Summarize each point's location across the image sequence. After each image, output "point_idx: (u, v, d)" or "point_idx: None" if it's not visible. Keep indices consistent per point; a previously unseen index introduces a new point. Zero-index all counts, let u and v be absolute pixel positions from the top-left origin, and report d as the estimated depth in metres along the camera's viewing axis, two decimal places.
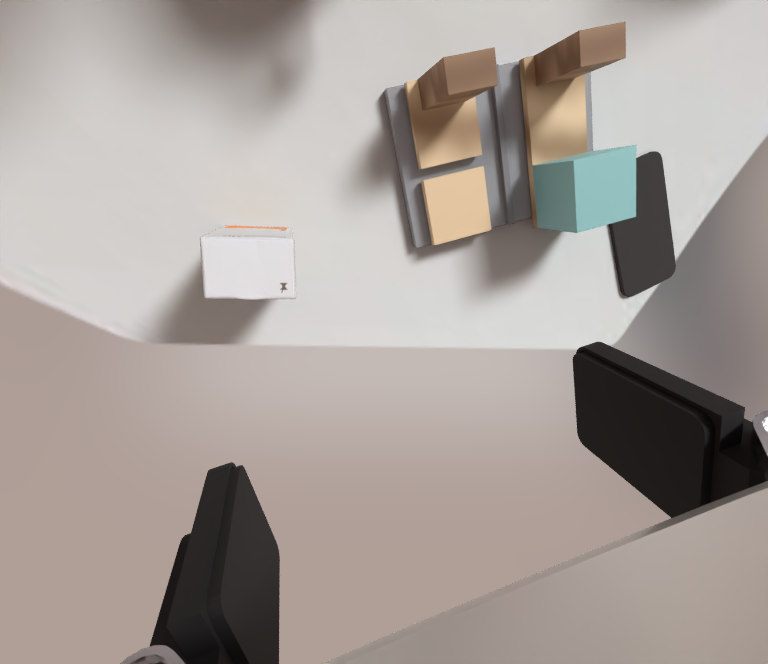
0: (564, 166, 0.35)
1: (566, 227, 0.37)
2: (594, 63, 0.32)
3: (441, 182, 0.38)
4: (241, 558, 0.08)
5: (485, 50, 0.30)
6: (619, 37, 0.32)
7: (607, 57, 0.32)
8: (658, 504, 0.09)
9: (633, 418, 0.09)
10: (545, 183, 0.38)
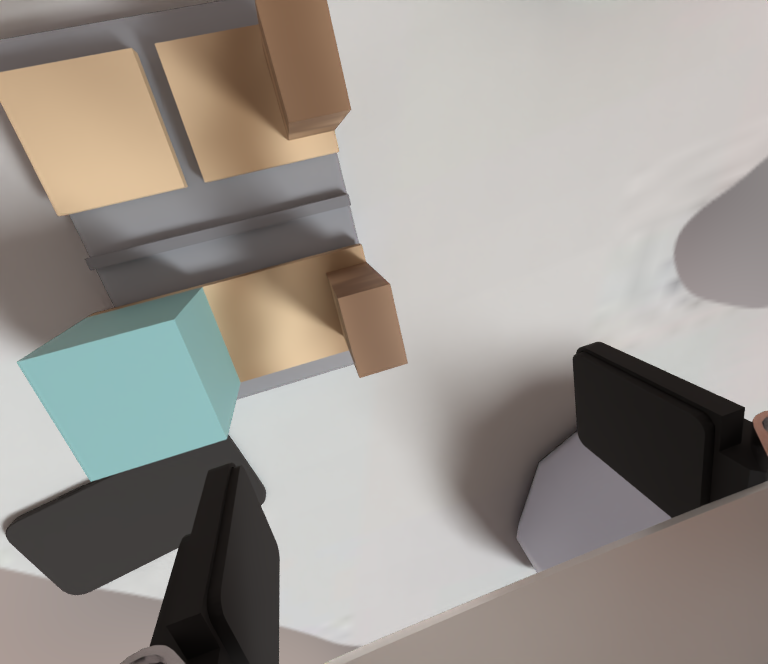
0: (171, 313, 0.18)
1: (46, 346, 0.17)
2: (345, 324, 0.18)
3: (135, 92, 0.19)
4: (241, 558, 0.08)
5: (344, 88, 0.15)
6: (385, 359, 0.19)
7: (356, 345, 0.19)
8: (658, 504, 0.09)
9: (633, 418, 0.09)
10: (160, 304, 0.20)
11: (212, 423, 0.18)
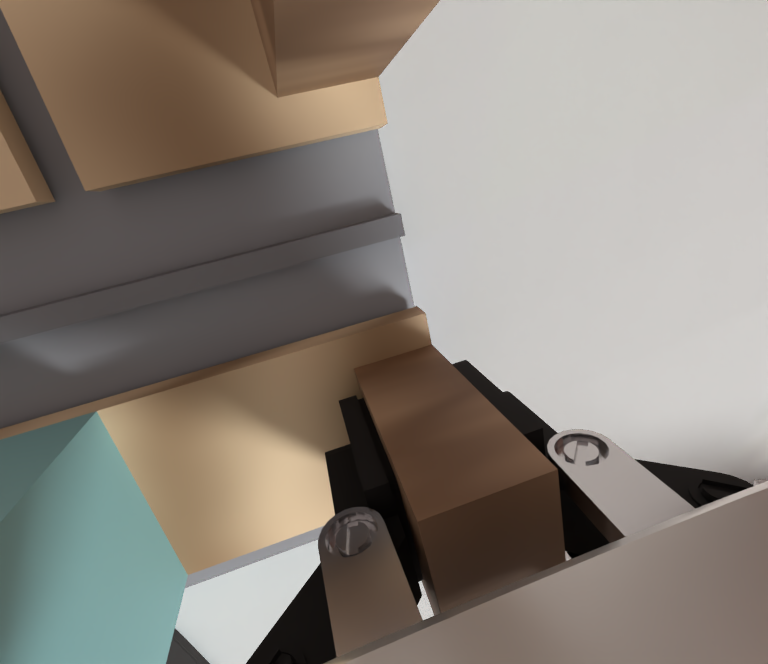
0: None
1: None
2: (434, 575, 0.07)
3: None
4: None
5: None
6: None
7: None
8: None
9: None
10: None
11: None
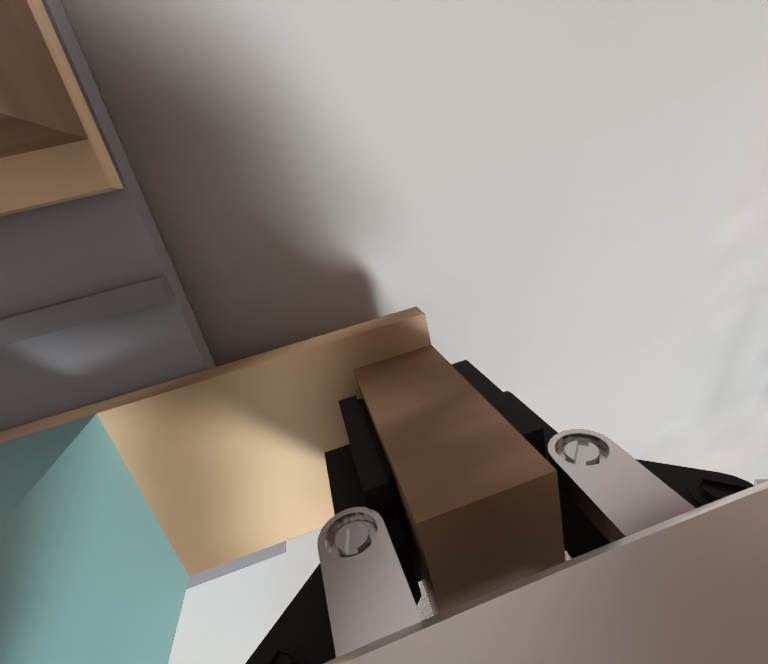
0: None
1: None
2: (433, 576, 0.07)
3: None
4: None
5: None
6: None
7: None
8: None
9: None
10: None
11: None
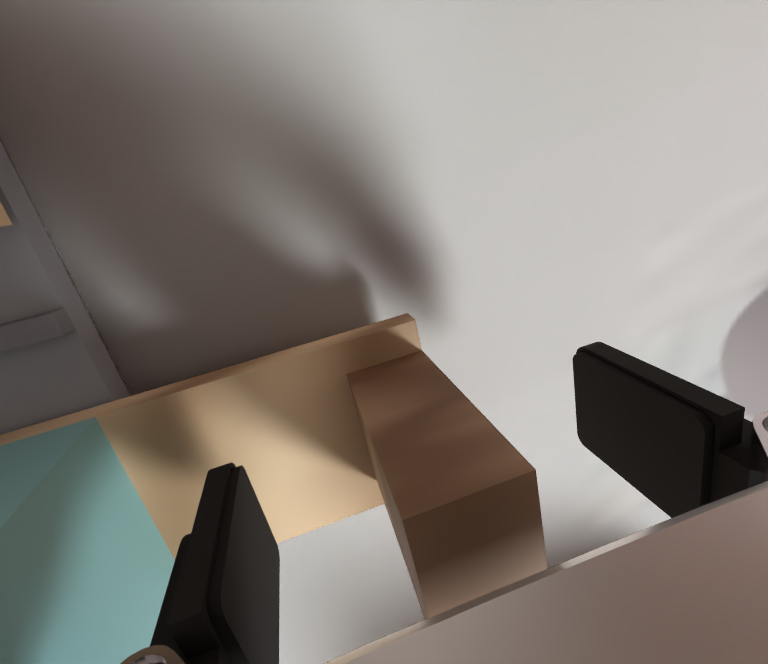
0: None
1: None
2: (419, 572, 0.07)
3: None
4: (241, 558, 0.08)
5: None
6: None
7: None
8: (658, 504, 0.09)
9: (633, 418, 0.09)
10: None
11: None
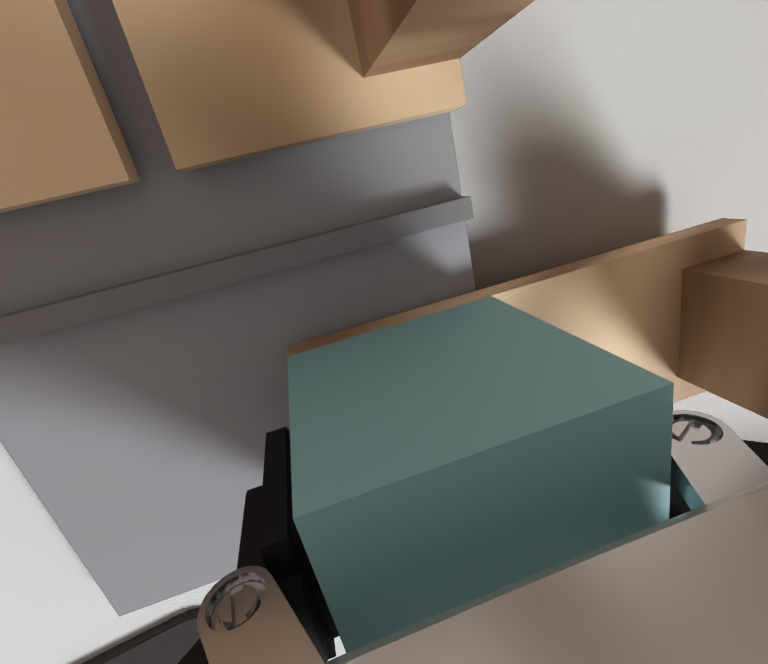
0: (591, 360, 0.07)
1: (312, 449, 0.07)
2: None
3: None
4: None
5: None
6: None
7: None
8: None
9: None
10: (464, 332, 0.10)
11: None
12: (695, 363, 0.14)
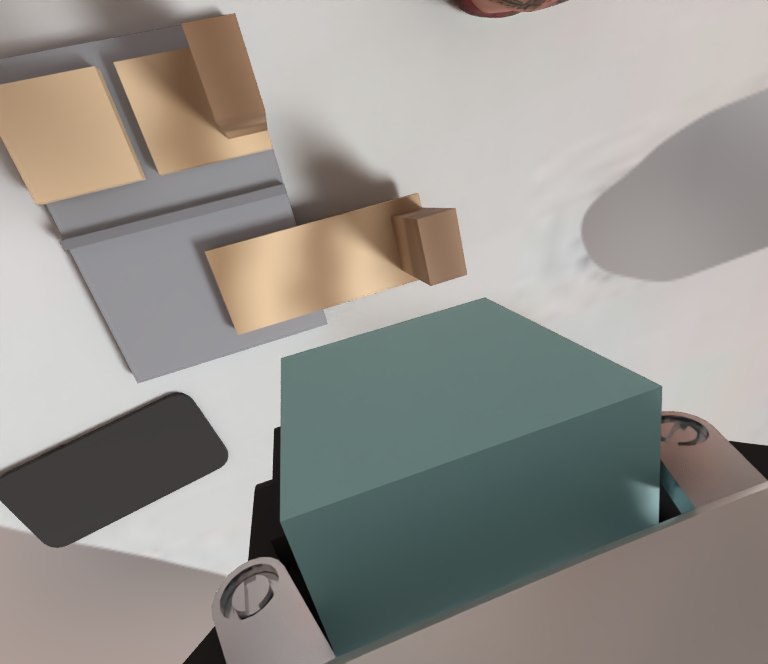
0: (582, 363, 0.07)
1: (302, 451, 0.07)
2: (422, 240, 0.24)
3: (98, 101, 0.23)
4: None
5: (258, 93, 0.20)
6: (450, 271, 0.25)
7: (429, 258, 0.24)
8: None
9: None
10: (457, 334, 0.10)
11: None
12: (402, 261, 0.29)
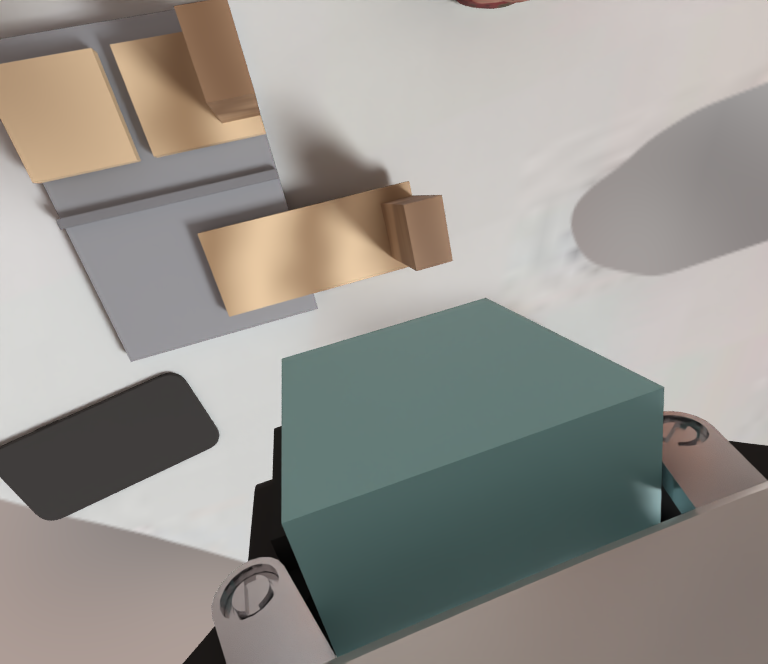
0: (583, 364, 0.07)
1: (303, 453, 0.07)
2: (408, 226, 0.24)
3: (95, 82, 0.24)
4: None
5: (248, 76, 0.20)
6: (436, 256, 0.25)
7: (415, 244, 0.25)
8: None
9: None
10: (458, 335, 0.10)
11: None
12: (392, 247, 0.30)
